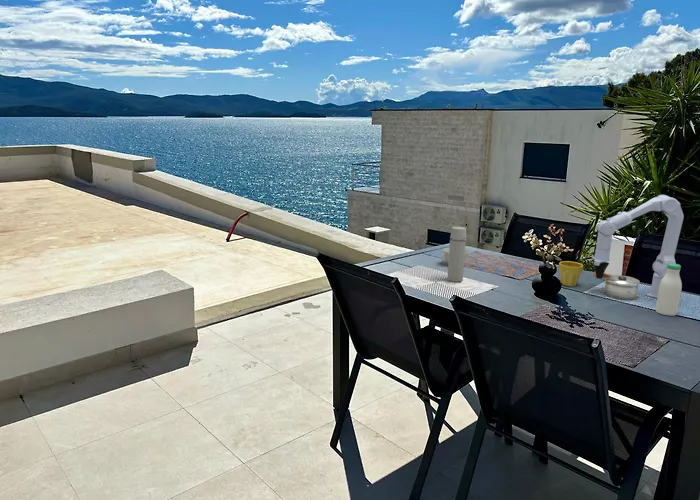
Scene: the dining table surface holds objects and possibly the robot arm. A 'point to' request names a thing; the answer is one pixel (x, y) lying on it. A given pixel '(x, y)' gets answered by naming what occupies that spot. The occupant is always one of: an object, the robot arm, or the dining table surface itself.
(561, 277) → the plant pot
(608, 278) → the cooker lid
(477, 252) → the dining table surface
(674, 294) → the milk bottle
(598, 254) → the robot arm
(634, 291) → the cooker pot
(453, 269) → the water bottle
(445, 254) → the teacup
